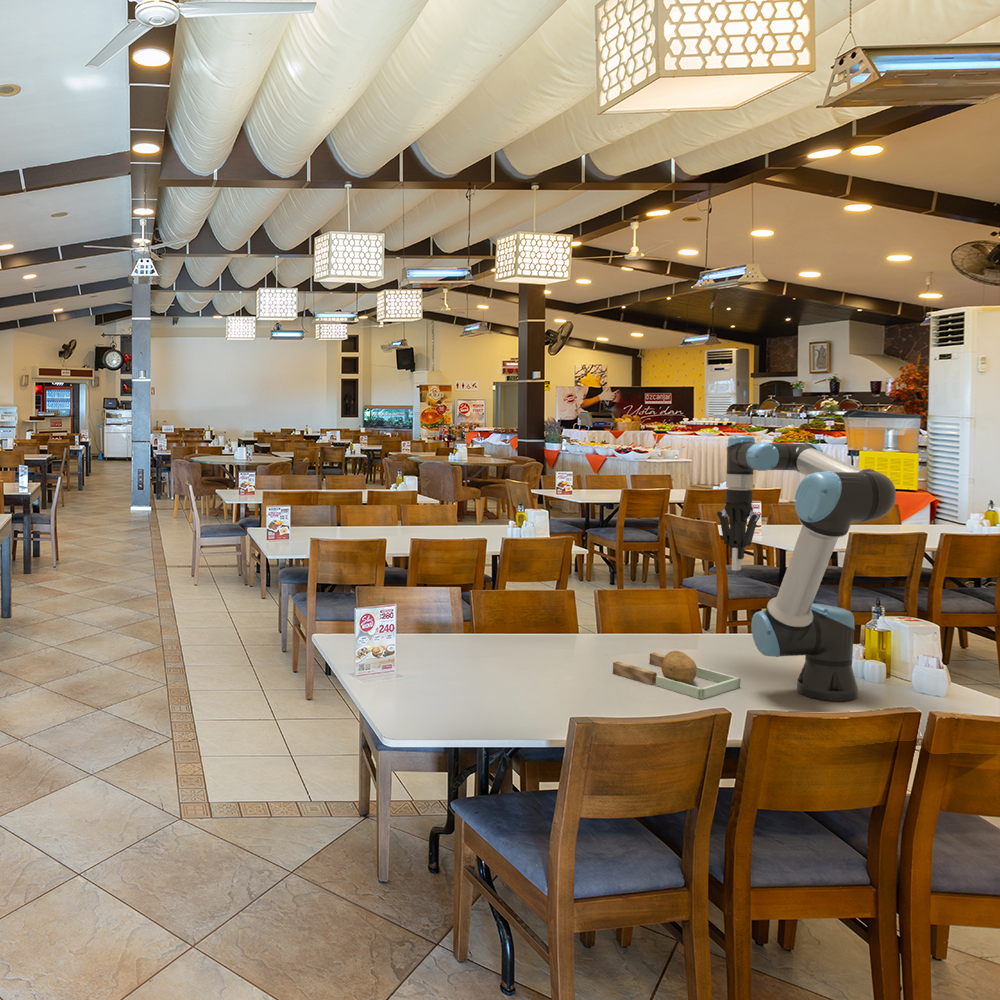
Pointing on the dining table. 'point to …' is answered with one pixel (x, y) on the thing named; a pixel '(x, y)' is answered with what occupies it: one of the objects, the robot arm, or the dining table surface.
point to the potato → (679, 667)
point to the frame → (722, 686)
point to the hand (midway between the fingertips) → (736, 569)
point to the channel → (639, 670)
